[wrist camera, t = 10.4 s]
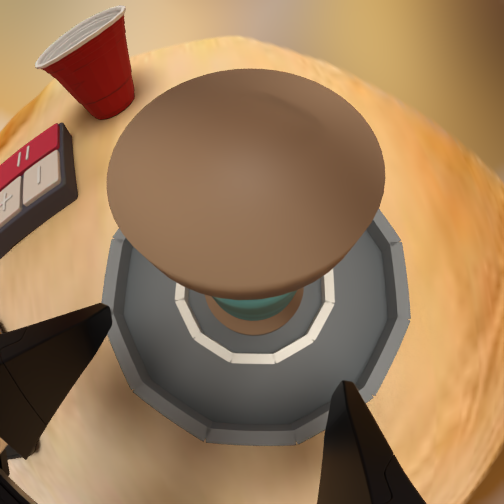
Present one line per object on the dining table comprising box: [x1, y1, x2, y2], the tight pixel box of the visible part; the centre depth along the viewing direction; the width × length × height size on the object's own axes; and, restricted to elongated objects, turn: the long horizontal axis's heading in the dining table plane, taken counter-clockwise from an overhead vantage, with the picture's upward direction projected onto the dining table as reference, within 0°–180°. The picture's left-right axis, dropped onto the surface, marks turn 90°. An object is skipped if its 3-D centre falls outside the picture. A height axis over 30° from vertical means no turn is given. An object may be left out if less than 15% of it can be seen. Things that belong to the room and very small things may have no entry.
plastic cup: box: [35, 6, 134, 120], centre depth 21 cm, size 11×11×12 cm
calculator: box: [0, 123, 78, 259], centre depth 21 cm, size 11×4×15 cm
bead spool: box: [107, 69, 385, 336], centre depth 11 cm, size 6×6×13 cm
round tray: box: [102, 209, 411, 446], centre depth 17 cm, size 20×20×2 cm
